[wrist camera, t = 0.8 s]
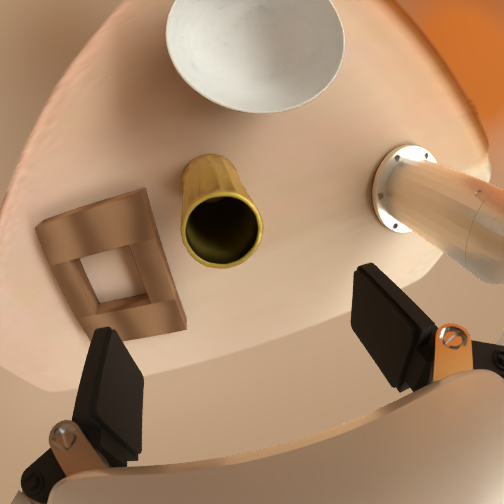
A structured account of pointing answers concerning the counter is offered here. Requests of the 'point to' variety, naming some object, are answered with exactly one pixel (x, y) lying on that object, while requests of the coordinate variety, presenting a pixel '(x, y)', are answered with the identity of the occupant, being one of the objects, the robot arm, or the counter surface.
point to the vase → (218, 214)
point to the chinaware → (256, 50)
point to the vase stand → (106, 238)
